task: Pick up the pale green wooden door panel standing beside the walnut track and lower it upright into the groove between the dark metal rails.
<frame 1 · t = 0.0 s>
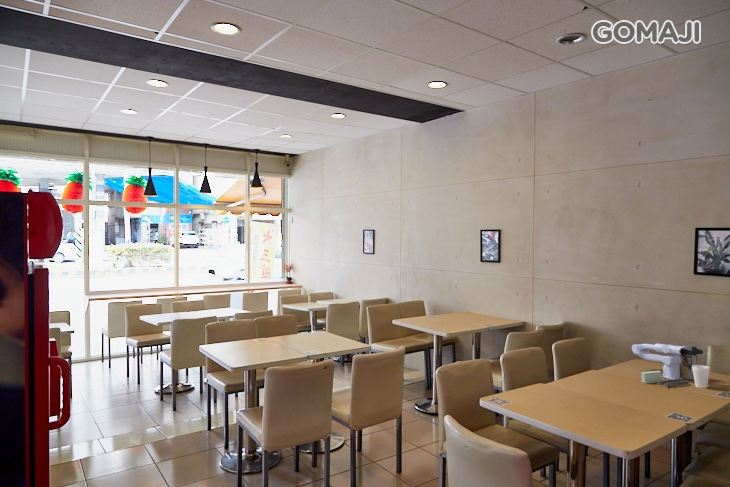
hand: (697, 352, 304), 22 cm above the table, tool horizontal, fingers open, 7 cm apart
coffee box: (688, 378, 323), on the table
door panel: (651, 382, 315), on the table
bottom track: (673, 384, 307), on the table
foam cup: (701, 386, 302), on the table
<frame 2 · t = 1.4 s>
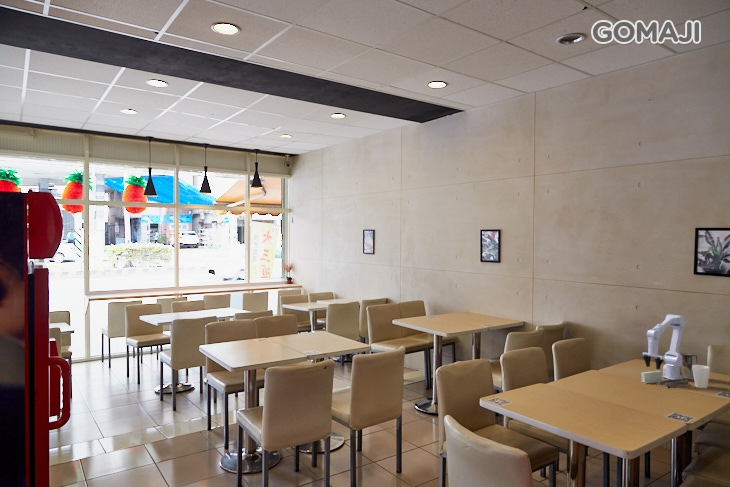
hand: (652, 368, 314), 10 cm above the table, tool pointing down, fingers open, 7 cm apart
nothing on the table moved.
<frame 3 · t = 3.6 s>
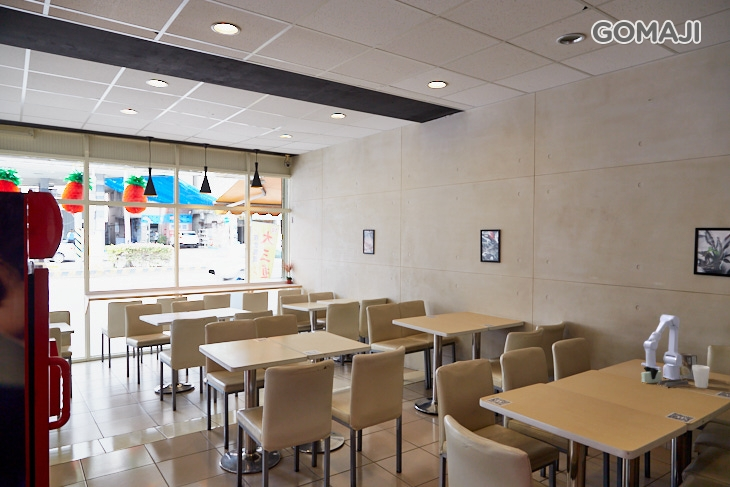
hand: (651, 378, 315), 2 cm above the table, tool pointing down, fingers closed on door panel, 2 cm apart
door panel: (651, 382, 315), on the table, touching gripper
everything else where it was.
when the fingers open (4 cm above the table, at t = 6.6 s): door panel stays where it is, resting on bottom track.
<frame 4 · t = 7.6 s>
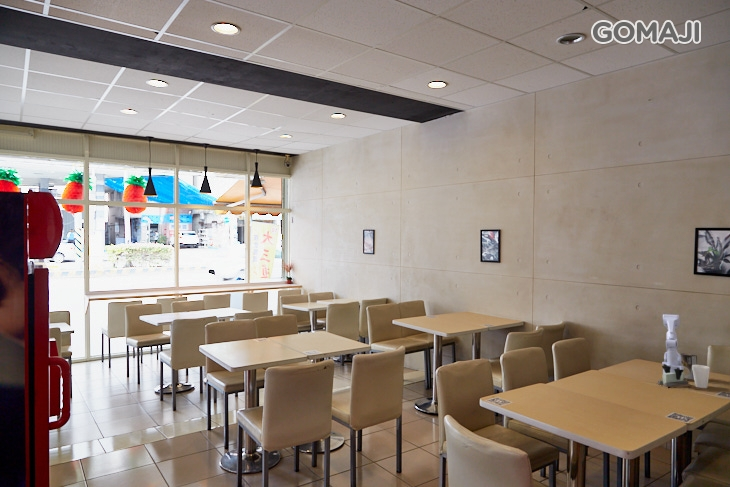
hand: (673, 378, 307), 4 cm above the table, tool pointing down, fingers open, 7 cm apart
door panel: (673, 383, 307), point 1 cm above the table, touching bottom track
everything else where it was.
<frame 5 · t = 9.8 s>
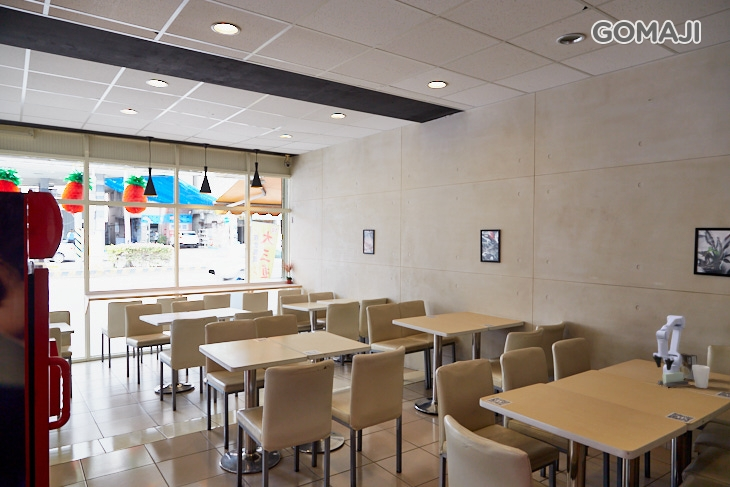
hand: (663, 368, 313), 9 cm above the table, tool pointing down, fingers open, 7 cm apart
nothing on the table moved.
at the end: door panel inside the target area on the bottom track (0.0 cm from its centre), point 0.8 cm above the bottom track's base; door panel tilted 0°; the gripper is holding nothing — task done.
